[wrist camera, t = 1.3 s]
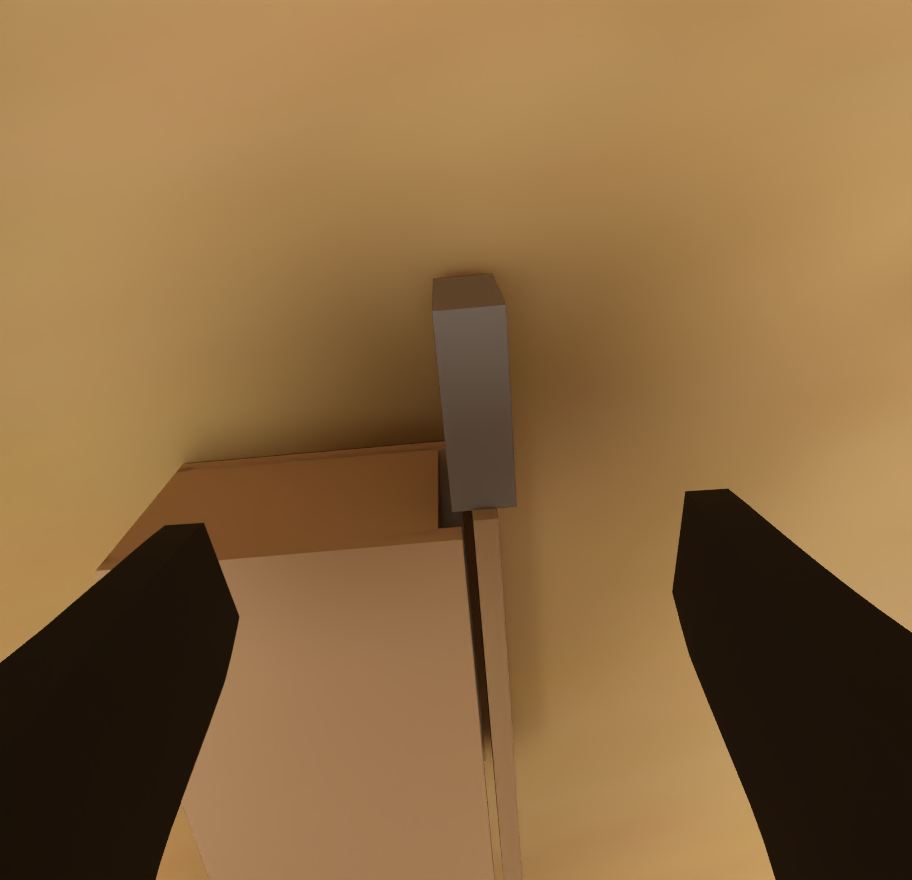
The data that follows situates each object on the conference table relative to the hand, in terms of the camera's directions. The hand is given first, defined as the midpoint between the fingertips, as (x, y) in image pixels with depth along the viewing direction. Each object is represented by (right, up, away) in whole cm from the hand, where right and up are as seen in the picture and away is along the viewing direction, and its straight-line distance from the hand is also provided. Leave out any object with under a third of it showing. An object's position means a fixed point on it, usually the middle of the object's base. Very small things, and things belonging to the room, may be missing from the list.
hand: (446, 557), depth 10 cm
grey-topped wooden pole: (+1, -2, +13) cm, 13 cm away
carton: (-4, -5, +14) cm, 16 cm away
